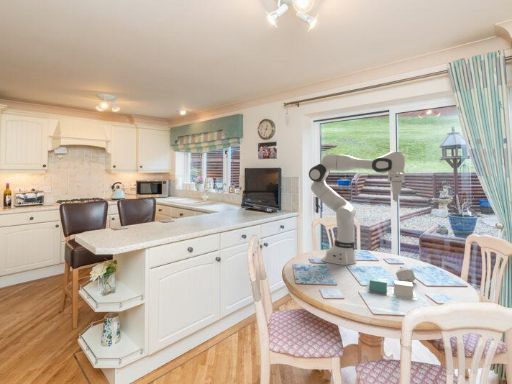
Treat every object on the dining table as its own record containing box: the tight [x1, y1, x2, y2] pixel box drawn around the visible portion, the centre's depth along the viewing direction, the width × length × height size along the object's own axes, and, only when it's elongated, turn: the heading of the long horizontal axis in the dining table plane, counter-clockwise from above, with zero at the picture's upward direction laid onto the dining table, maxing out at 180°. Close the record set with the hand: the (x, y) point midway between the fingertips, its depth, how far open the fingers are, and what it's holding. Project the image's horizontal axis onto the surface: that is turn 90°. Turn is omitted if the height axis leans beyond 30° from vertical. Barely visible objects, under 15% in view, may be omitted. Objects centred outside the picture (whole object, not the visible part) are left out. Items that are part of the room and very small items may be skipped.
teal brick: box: [369, 276, 388, 292], centre depth 140 cm, size 8×5×5 cm, turn 66°
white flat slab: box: [366, 282, 418, 301], centre depth 138 cm, size 22×13×1 cm, turn 66°
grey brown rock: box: [395, 266, 416, 283], centre depth 150 cm, size 8×9×10 cm
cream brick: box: [393, 279, 414, 296], centre depth 135 cm, size 8×5×5 cm, turn 66°
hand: (395, 200), depth 167 cm, fingers open, 8 cm apart
